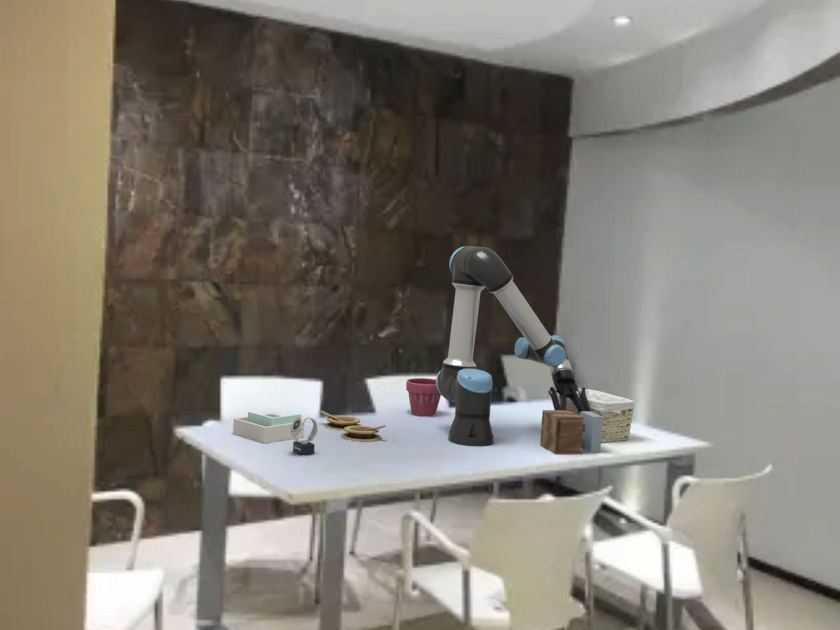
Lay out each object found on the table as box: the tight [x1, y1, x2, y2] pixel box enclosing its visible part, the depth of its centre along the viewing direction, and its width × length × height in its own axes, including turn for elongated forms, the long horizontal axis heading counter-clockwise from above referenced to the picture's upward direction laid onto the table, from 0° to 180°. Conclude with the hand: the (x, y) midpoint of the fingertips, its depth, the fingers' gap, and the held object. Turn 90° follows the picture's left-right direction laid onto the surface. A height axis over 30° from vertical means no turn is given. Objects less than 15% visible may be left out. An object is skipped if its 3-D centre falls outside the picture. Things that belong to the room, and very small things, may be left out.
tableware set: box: [319, 410, 395, 443], centre depth 309 cm, size 30×20×6 cm, turn 26°
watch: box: [291, 415, 319, 457], centre depth 275 cm, size 6×8×11 cm
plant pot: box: [405, 377, 442, 417], centre depth 347 cm, size 14×14×13 cm
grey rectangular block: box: [580, 411, 603, 454], centre depth 305 cm, size 9×4×12 cm, turn 18°
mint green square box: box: [247, 411, 302, 427], centre depth 295 cm, size 12×12×8 cm
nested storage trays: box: [232, 412, 305, 444], centre depth 295 cm, size 16×16×5 cm
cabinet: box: [539, 409, 585, 455], centre depth 302 cm, size 12×10×12 cm
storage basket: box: [558, 388, 636, 443], centre depth 328 cm, size 24×16×15 cm
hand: (578, 430), depth 311 cm, fingers open, 5 cm apart
